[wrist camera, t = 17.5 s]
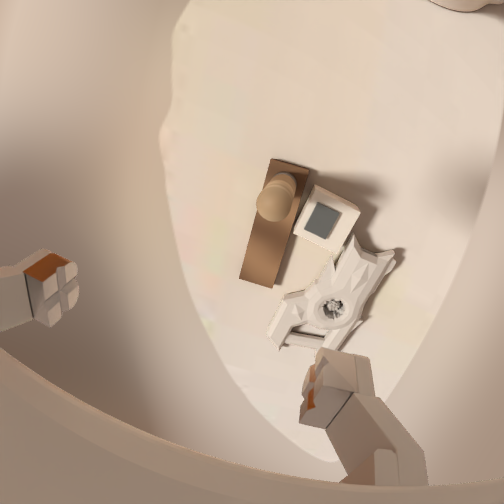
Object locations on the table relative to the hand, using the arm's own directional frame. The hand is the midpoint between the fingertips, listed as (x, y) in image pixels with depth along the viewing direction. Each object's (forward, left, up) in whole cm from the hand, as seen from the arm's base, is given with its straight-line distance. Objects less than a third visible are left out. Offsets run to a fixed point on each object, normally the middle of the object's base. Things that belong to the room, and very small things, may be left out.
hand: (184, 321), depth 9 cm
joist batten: (+5, +1, -26) cm, 26 cm away
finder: (+2, +6, -26) cm, 27 cm away
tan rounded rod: (0, +1, -25) cm, 25 cm away
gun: (+12, +10, -26) cm, 30 cm away
